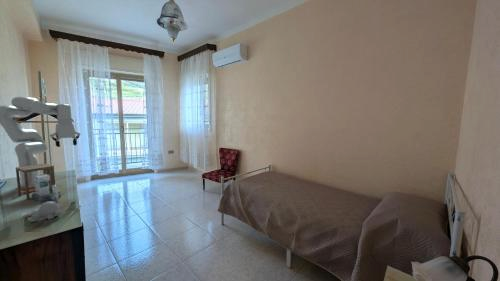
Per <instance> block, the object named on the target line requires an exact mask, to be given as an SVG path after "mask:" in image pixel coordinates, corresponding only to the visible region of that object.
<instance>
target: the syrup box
mask: <svg viewBox="0 0 500 281" xmlns="http://www.w3.org/2000/svg"><path fill="white" fill-rule="evenodd" d="M34 182H35V193H36V195H38V196H43V195H47V194H51V184H50V175H48V174H44V175H43V174H39V176H34Z"/></svg>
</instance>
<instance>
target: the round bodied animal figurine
mask: <svg viewBox="0 0 500 281" xmlns="http://www.w3.org/2000/svg"><path fill="white" fill-rule="evenodd" d="M30 213H31V215H30V217H29V216H27V220H29V221H30V222H31V223H35V222H37V221H38V220H39V219H40V218H42V217H44V216H45V217H46V218H47V220H49V221H50V220H52V219H54V218H55V217H57V216H60V215H61V214H62V209H61V208H60V207H59V204H58V203H57V201H56V202H54V201H51V200H50V201H48V200H47V201H46V202H43V203H42V204H41V205H40V206H39V209H37V210H35V209H32V211H31V212H30Z"/></svg>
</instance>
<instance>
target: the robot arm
mask: <svg viewBox="0 0 500 281" xmlns="http://www.w3.org/2000/svg"><path fill="white" fill-rule="evenodd" d="M10 103H11V105H0V125H1V127H2V128H3V130H4V131H5V133H6V134H7V136H8V137H9V138H10V140H11V141H12V142H13V143H16V144H17V145H16V146H14V147H15V148H14V152H15V155H16V157H17V160H18V161H17V162H18V167H23V166H30V165H37V164H38V160H37V158H36V157H35V156H36V155H40V154H43V153H46V152H47V150H48V146H47V144H46V142H45V140H44V139H43V137H42V136H41V134H40V133H39V131H37V129H32V128H23V127H22V125H21V124H20V122H18V121H17V120H15V119H14V118H27V117H29V116H30V115H31V114H33V113H35V114H41V115H56V119H57V123H56V124H55V132H54V133H51V134H50V135H49V137H50V138H51V139H52V140H53V141H55V142H54V143H55V146H56V148H57V147H58V148H60V147H61V145H60V144H61V143H60V139H70V138H72V145H73V146H77V144H78V139H79V138H80V136H81V133H79V132H77V131H76V130H75V125H74V122H75V120H73V119H72V111H71V110H72V109H71V105H70V104H68V103H67V104H66V103H48V102H42V101H41V100H39V99H37V98H35V97H29V96H28V97H27V96H16V97H13V98H12V99H11V102H10ZM34 155H35V156H34ZM39 175H40V174H39V171H33V172H27V178H28V187H31V186H35V182H34V176H39ZM19 177H20V186H21V188H26V187H25V177H24V172H21V171H19Z"/></svg>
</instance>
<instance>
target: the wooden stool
mask: <svg viewBox="0 0 500 281" xmlns="http://www.w3.org/2000/svg"><path fill="white" fill-rule="evenodd" d="M20 171H21V172H24V177H25V187H24V188H26V200H30V193H29V187H28V178H27V172H33V171H38V172H39V171H43V174H42V175H44V174H48V175H50V184H51V189H52V185H55V184H56V178H55V177H56V176H55V165H52V164H48V163H45V162H44V163H39V164H38V163H37V165H30V166H23V167H19V166H16V167H15V175H16V184H17V189H18V192H17V193H18V196H19V197H20V196H22V194H21V186H20V184H21V180H20Z"/></svg>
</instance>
